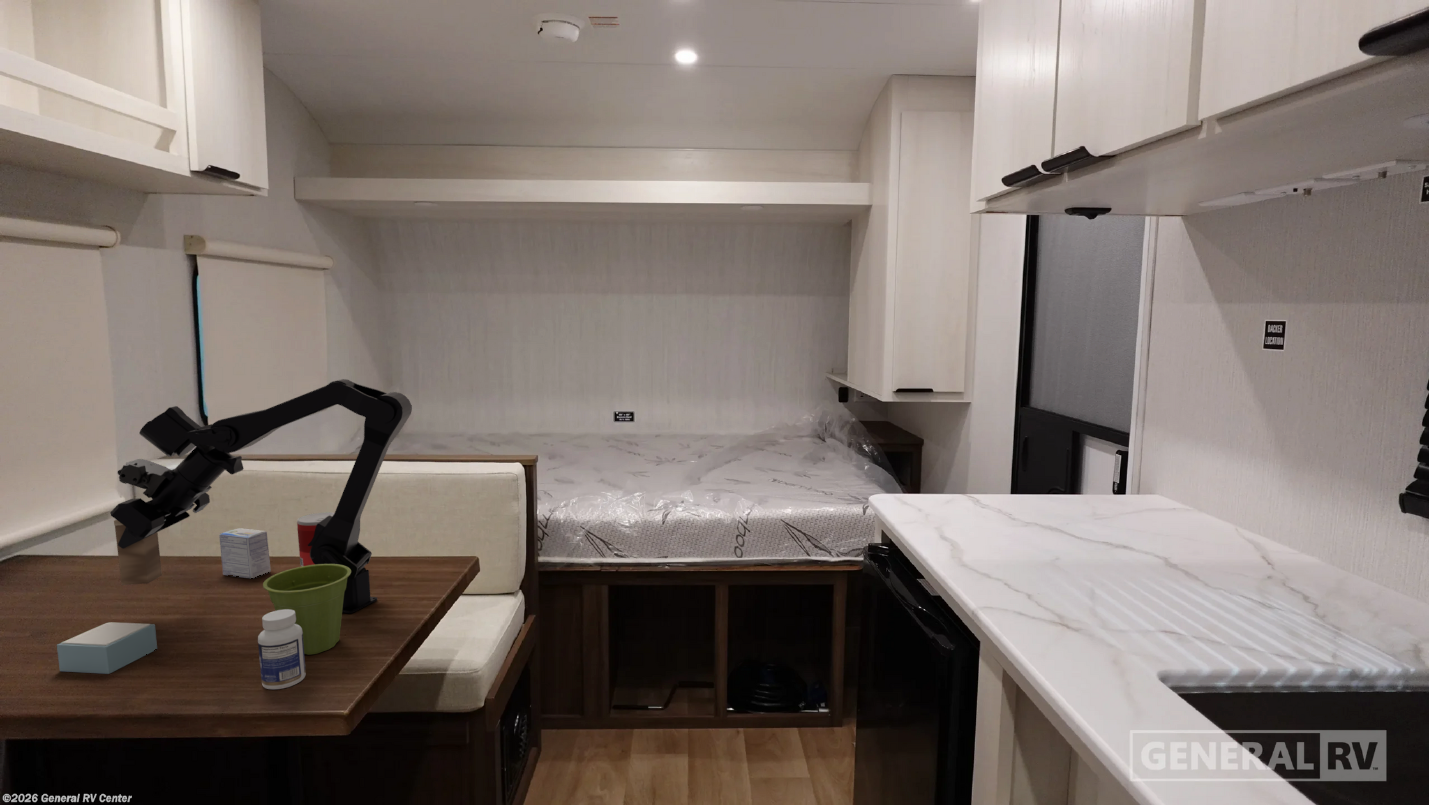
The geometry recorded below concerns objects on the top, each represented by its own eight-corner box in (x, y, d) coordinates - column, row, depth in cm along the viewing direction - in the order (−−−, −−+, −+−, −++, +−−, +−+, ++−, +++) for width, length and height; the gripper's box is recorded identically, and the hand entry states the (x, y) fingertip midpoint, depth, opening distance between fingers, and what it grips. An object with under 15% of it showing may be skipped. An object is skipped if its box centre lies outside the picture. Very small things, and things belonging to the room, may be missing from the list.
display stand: (157, 649, 114) (154, 623, 113) (109, 673, 106) (105, 646, 105) (111, 646, 115) (108, 621, 114) (59, 671, 107) (56, 643, 106)
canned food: (326, 577, 145) (322, 523, 144) (291, 575, 147) (287, 521, 145) (352, 564, 152) (349, 513, 151) (319, 562, 154) (315, 511, 153)
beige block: (162, 575, 127) (156, 512, 126) (148, 583, 123) (141, 519, 122) (136, 576, 126) (129, 514, 125) (120, 585, 122) (113, 520, 121)
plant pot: (249, 659, 110) (243, 586, 109) (312, 627, 121) (307, 561, 120) (314, 668, 107) (308, 593, 106) (372, 634, 118) (368, 566, 117)
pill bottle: (273, 673, 106) (268, 607, 104) (312, 671, 106) (307, 606, 105) (253, 692, 100) (247, 623, 99) (294, 690, 101) (289, 621, 100)
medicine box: (271, 572, 148) (268, 530, 147) (251, 579, 144) (247, 536, 143) (242, 568, 151) (239, 527, 150) (222, 575, 147) (218, 533, 146)
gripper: (184, 434, 132) (122, 498, 131) (117, 453, 113) (45, 527, 113) (236, 475, 134) (175, 538, 133) (179, 500, 115) (108, 573, 115)
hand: (128, 542), depth 124 cm, fingers closed on beige block, 4 cm apart
